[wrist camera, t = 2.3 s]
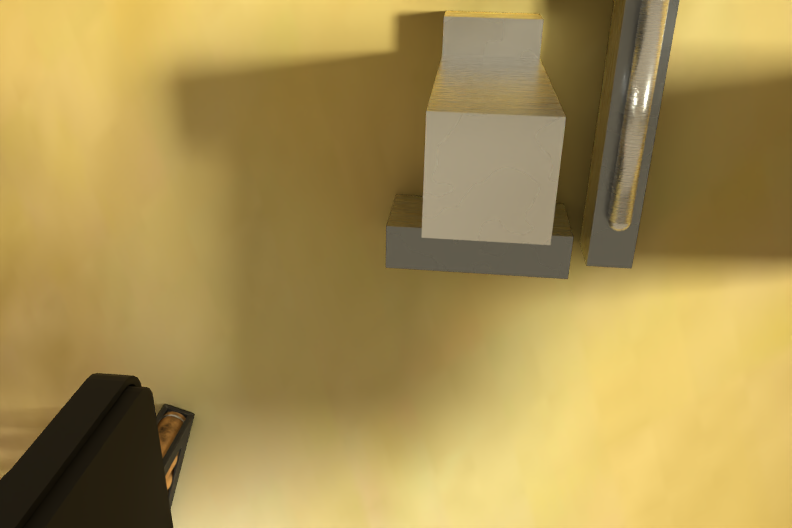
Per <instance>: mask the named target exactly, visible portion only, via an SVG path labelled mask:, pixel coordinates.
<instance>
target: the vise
mask: <svg viewBox="0 0 792 528" xmlns="http://www.w3.org/2000/svg"><path fill="white" fill-rule="evenodd" d="M678 5H679V0H614V4H613V11H612V18H611V25H610V32H609V39H608V46H607V53H606V61H605V68H604V75H603V82H602V89H601V96H600V103H599V110H598V117H597V124H596V131H595V138H594V145H593V153H592V160H591V167H590V174H589V181H588V188H587V195H586V202H585V209H584V216H583V223H582V230H581V237H580V246H581V250H582V253H583V256H584V259H585V262H586V266H600V267H616V268H632V263H633V258H634V252H635V246H636V241H637V235H638V229H639V224H640V218H641V213H642V207H643V201H644V196H645V190H646V185H647V179H648V173H649V168H650V162H651V157H652V151H653V145H654V140H655V134H656V129H657V123H658V117H659V112H660V106H661V100H662V95H663V89H664V84H665V78H666V72H667V67H668V61H669V56H670V50H671V44H672V39H673V33H674V28H675V22H676V16H677V11H678ZM422 211H423V196H412V195H396V196H395V200H394V203H393V206H392V209H391V213H390V216H389V219H388V222H387V226H386V268H402V269H417V270H433V271H449V272H465V273H481V274H497V275H513V276H528V277H544V278H560V279H568V274H569V267H570V259H571V252H572V245H573V233H572V230H571V227H570V223H569V220H568V217H567V213H566V210H565V207H564V204H559V203H556V204H555V212H554V220H553V228H552V237H551V245H538V244H521V243H505V242H488V241H471V240H454V239H437V238H422Z"/></svg>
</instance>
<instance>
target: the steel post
mask: <svg viewBox="0 0 792 528" xmlns="http://www.w3.org/2000/svg"><path fill="white" fill-rule="evenodd" d="M543 21H544V19H543V18H542V16H541V15H540V14H529V13H498V12H467V11H446V12H445V15H444V26H443V48H442V57H441V60H440V64H439V67H438V71H437V75H436V78H435V82H434V85H433V89H432V92H431V96H430V100H429V103H428V107H427V110H426V131H425V158H424V184H423V211H422V238H437V239H454V240H471V241H488V242H505V243H521V244H538V245H551V237H552V228H553V220H554V212H555V204H556V196H557V188H558V179H559V171H560V163H561V155H562V147H563V139H564V130H565V122H566V116H565V114H564V111H563V109H562V107H561V105H560V102H559V100H558V98H557V96H556V93H555V91H554V89H553V87H552V84H551V82H550V80H549V78H548V75H547V73H546V71H545V69H544V66H543V64H542V62H541V60H540V50H541V40H542V30H543Z"/></svg>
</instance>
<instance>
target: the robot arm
mask: <svg viewBox="0 0 792 528" xmlns="http://www.w3.org/2000/svg"><path fill="white" fill-rule="evenodd" d="M0 528H173V523H172V516H171V510H170V503H169V497H168V490H167V484H166V478H165V471H164V465H163V458H162V452H161V445H160V439H159V432H158V426H157V419H156V413H155V406H154V400H153V395H152V392H151V390H150V389H149V388H147V387H141V383H140V381H139V379H138V378H137V377H135V376H128V375H115V374H101V373H96V374H92V375H91V376H90V377H89V378H87V380H86V381H85V382H84V383H83V384H82V385H81V387H80V388H79V389H78V390H77V391H76V393H75V394H74V395H73V396H72V397H71V399H70V400H69V401H68V402H67V403H66V404H65V406H64V407H63V408H62V409H61V410H60V412H59V413H58V414H57V415H56V416H55V418H54V419H53V420H52V421H51V422H50V424H49V425H48V426H47V427H46V428H45V429H44V431H43V432H42V433H41V434H40V435H39V437H38V438H37V439H36V440H35V441H34V443H33V444H32V445H31V446H30V447H29V448H28V450H27V451H26V452H25V453H24V454H23V456H22V457H21V458H20V459H19V460H18V462H17V463H16V464H15V465H14V466H13V468H12V469H11V470H10V471H9V472H8V473H7V474H5V475H4V476H3V477H2V478H1V480H0Z"/></svg>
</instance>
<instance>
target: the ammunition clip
mask: <svg viewBox="0 0 792 528" xmlns="http://www.w3.org/2000/svg"><path fill="white" fill-rule="evenodd" d="M194 415H195V414H193V413H190V412H187V411H184V410H181V409H178V408H175V407H172V406H169V405H166V404H164V405H163V407H162V408H161V410H160V412H159V413H158V415H157V416H156V419H157V426H158V432H159V439H160V445H161V452H162V458H163V465H164V471H165V478H166V484H167V490H168V497H169V503H170V509H171V505H172V501H173V497H174V493H175V489H176V485H177V481H178V478H179V474H180V470H181V466H182V462H183V458H184V454H185V450H186V446H187V442H188V438H189V434H190V430H191V426H192V423H193V419H194Z"/></svg>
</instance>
